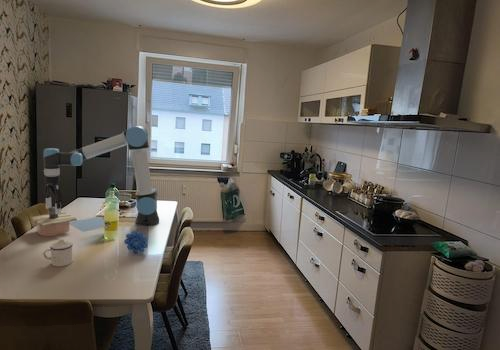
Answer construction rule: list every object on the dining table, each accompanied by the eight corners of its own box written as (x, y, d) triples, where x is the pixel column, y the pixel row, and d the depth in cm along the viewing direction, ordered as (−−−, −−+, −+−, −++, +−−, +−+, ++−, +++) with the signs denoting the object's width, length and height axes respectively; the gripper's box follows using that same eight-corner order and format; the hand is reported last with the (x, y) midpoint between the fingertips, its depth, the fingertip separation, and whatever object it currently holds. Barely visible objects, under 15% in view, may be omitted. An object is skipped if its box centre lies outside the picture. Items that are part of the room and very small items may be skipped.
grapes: (123, 256, 167) (123, 234, 165) (124, 251, 173) (124, 229, 171) (147, 255, 170) (147, 233, 168) (147, 250, 176) (148, 229, 174)
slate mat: (118, 224, 212) (118, 224, 212) (83, 232, 195) (83, 231, 195) (101, 216, 226) (101, 216, 226) (67, 223, 209) (67, 222, 209)
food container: (134, 205, 259) (134, 192, 257) (130, 207, 253) (130, 194, 251) (119, 203, 260) (119, 191, 258) (115, 205, 254) (115, 193, 252)
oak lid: (76, 220, 195) (76, 208, 194) (42, 226, 181) (42, 214, 180) (63, 213, 206) (63, 202, 205) (30, 219, 192) (30, 207, 191)
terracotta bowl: (74, 231, 196) (74, 220, 195) (44, 238, 184) (43, 226, 182) (62, 224, 206) (62, 214, 205) (33, 230, 194) (33, 219, 192)
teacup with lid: (73, 257, 162) (73, 235, 160) (72, 265, 154) (71, 242, 152) (45, 260, 157) (44, 237, 155) (42, 269, 149) (40, 244, 147)
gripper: (36, 172, 194) (38, 207, 197) (53, 179, 179) (55, 217, 182) (50, 171, 200) (51, 205, 203) (68, 178, 184) (69, 214, 188)
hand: (53, 211), depth 193 cm, fingers open, 13 cm apart
